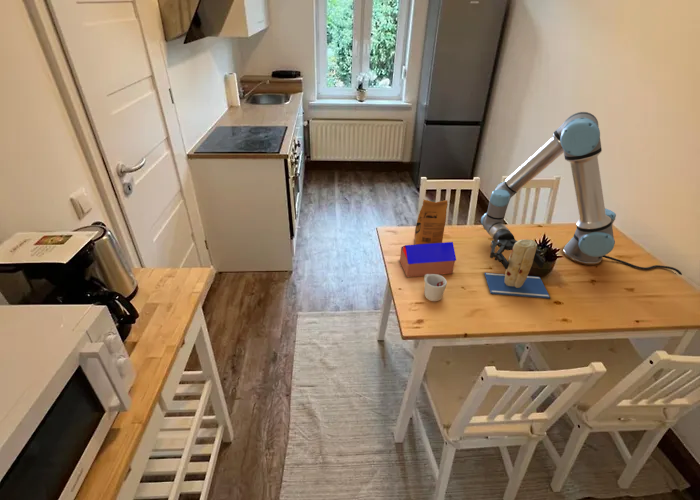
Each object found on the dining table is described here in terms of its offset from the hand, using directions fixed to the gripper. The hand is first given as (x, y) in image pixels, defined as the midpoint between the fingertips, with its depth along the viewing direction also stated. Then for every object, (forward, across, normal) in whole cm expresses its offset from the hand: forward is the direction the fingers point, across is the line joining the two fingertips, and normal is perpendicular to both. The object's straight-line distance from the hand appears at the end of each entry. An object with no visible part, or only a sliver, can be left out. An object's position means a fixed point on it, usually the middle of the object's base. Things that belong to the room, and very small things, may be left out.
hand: (524, 265), depth 143 cm
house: (-17, +32, -12) cm, 38 cm away
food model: (-3, 0, -11) cm, 12 cm away
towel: (-3, -1, -12) cm, 12 cm away
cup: (+1, +34, -12) cm, 36 cm away
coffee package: (-35, +27, -12) cm, 46 cm away
